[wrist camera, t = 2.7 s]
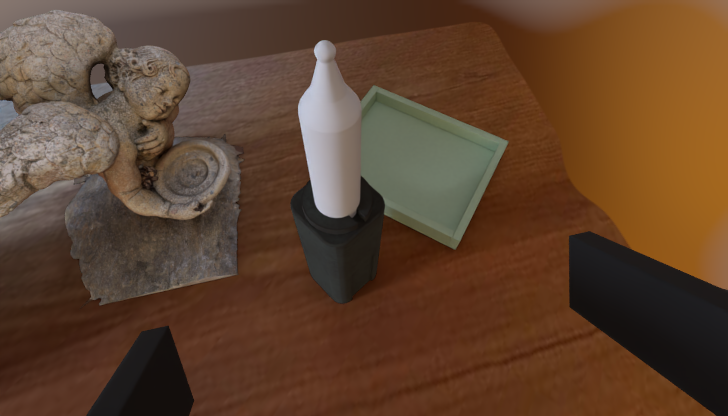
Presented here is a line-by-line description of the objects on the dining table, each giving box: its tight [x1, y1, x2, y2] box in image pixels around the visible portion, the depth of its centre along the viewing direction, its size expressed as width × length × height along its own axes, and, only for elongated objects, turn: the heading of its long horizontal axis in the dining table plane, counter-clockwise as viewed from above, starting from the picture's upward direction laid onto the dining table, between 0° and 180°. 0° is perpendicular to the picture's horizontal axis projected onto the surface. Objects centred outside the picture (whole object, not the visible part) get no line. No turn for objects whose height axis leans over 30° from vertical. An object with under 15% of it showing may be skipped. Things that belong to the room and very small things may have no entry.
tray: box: [360, 85, 508, 250], centre depth 42 cm, size 17×14×2 cm
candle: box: [291, 40, 385, 303], centre depth 26 cm, size 5×5×25 cm
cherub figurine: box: [0, 10, 244, 308], centre depth 32 cm, size 18×18×18 cm
